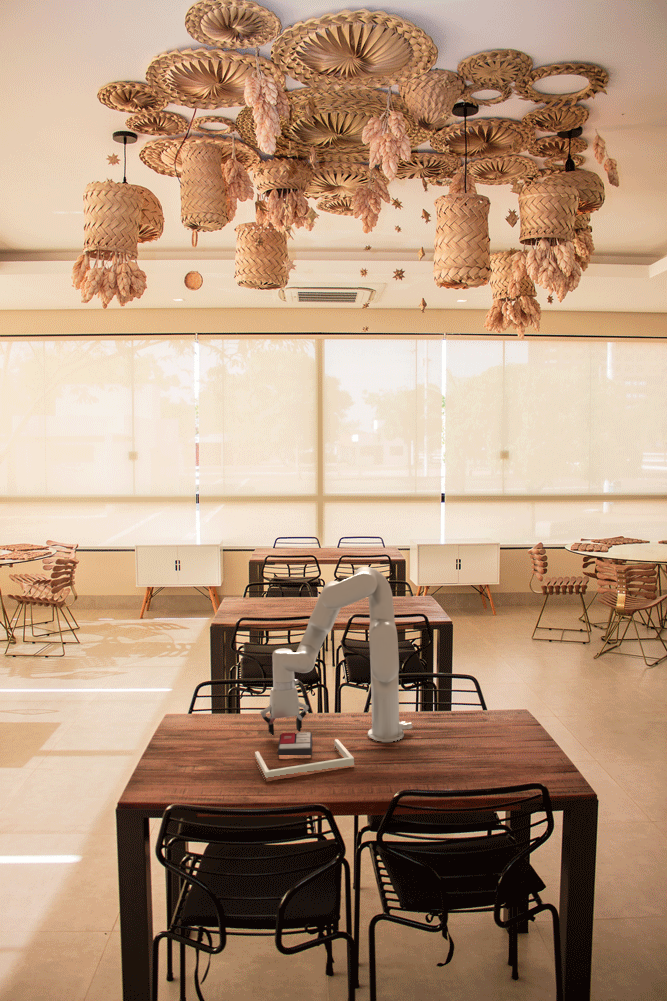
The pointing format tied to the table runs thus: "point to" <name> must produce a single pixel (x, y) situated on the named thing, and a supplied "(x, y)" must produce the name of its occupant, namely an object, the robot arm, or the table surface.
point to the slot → (342, 762)
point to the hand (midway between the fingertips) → (285, 732)
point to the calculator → (295, 744)
